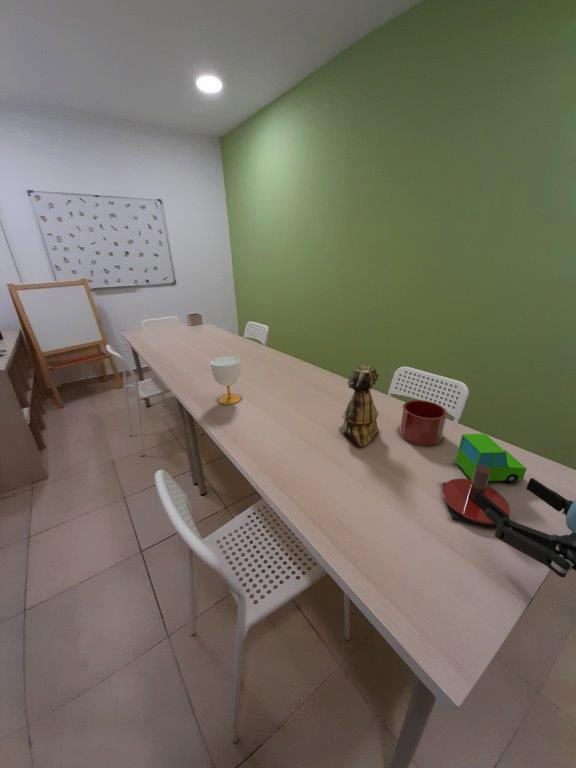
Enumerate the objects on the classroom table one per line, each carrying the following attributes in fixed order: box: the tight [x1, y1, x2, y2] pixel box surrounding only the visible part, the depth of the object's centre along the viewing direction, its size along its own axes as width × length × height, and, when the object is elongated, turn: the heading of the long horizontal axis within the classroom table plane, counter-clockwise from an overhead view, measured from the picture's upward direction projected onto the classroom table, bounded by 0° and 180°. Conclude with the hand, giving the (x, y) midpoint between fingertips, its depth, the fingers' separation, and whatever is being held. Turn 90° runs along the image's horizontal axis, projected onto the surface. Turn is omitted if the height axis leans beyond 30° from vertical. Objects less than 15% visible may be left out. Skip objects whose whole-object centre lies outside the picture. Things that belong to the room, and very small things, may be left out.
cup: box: [209, 356, 241, 405], centre depth 122 cm, size 12×12×17 cm
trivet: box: [442, 482, 511, 529], centre depth 70 cm, size 11×11×1 cm
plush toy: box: [340, 364, 380, 448], centre depth 95 cm, size 14×14×25 cm
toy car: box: [455, 433, 527, 484], centre depth 78 cm, size 10×13×10 cm
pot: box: [399, 399, 448, 447], centre depth 96 cm, size 13×13×10 cm
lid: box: [442, 465, 511, 524], centre depth 68 cm, size 13×13×10 cm
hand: (503, 489), depth 62 cm, fingers open, 13 cm apart
